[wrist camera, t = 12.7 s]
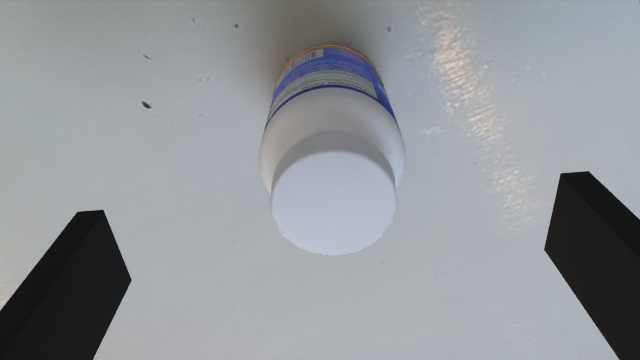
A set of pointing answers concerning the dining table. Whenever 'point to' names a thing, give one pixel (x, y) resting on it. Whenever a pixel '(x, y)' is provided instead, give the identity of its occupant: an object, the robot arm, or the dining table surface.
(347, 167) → the pill bottle
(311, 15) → the dining table surface
